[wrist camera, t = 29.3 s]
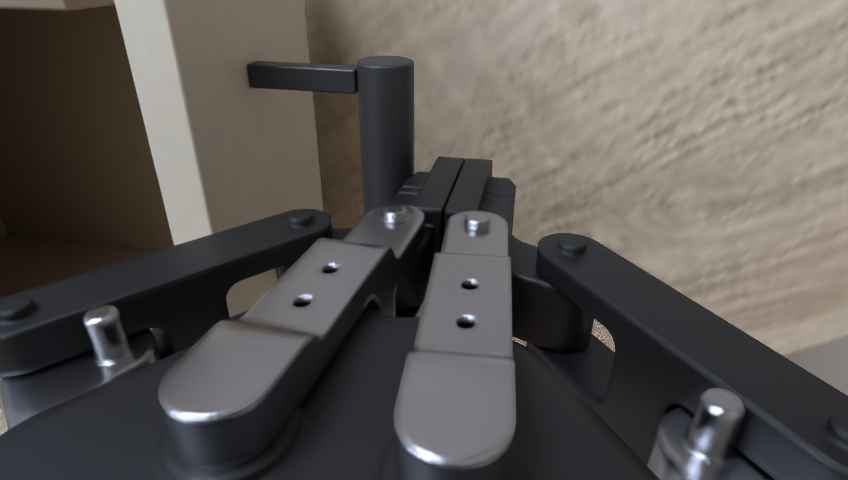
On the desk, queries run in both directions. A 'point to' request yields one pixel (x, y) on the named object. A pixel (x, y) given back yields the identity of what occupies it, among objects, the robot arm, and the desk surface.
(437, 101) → the desk surface
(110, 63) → the drawer
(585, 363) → the robot arm
